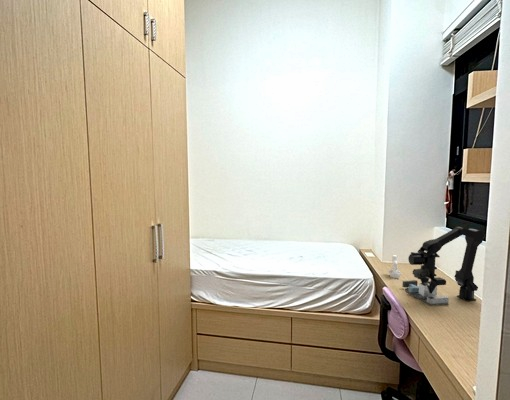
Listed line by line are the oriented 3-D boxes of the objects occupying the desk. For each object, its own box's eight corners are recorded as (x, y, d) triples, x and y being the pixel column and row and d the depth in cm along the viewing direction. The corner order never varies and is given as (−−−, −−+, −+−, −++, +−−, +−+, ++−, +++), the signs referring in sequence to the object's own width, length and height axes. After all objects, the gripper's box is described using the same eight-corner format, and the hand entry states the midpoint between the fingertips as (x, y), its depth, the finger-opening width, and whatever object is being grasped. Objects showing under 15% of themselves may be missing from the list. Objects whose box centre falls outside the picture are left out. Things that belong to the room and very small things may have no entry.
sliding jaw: (417, 285, 178) (417, 280, 177) (428, 291, 169) (428, 285, 168) (401, 286, 176) (401, 281, 175) (411, 292, 167) (411, 286, 167)
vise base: (421, 289, 174) (421, 284, 173) (448, 304, 155) (448, 297, 154) (405, 291, 172) (405, 285, 172) (430, 305, 153) (430, 299, 152)
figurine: (389, 278, 193) (390, 256, 191) (387, 274, 202) (388, 253, 200) (401, 279, 190) (402, 257, 189) (398, 275, 199) (399, 254, 198)
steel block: (431, 292, 164) (431, 282, 164) (436, 295, 160) (437, 284, 160) (418, 293, 163) (419, 283, 163) (423, 296, 159) (424, 285, 159)
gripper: (404, 260, 168) (403, 286, 170) (429, 270, 150) (427, 299, 151) (421, 259, 170) (420, 284, 171) (447, 269, 152) (446, 298, 153)
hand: (427, 291), depth 162 cm, fingers closed on steel block, 4 cm apart
